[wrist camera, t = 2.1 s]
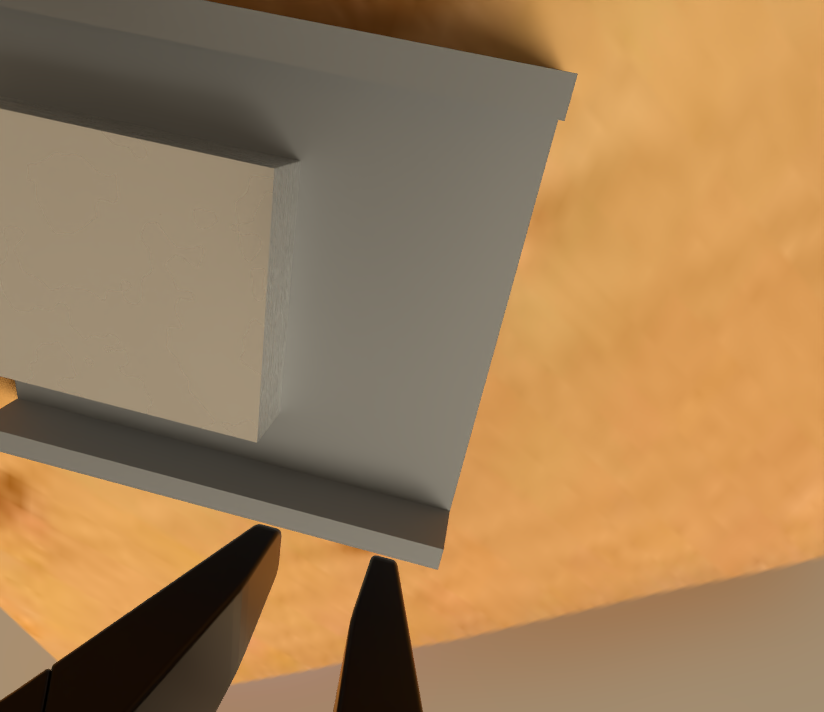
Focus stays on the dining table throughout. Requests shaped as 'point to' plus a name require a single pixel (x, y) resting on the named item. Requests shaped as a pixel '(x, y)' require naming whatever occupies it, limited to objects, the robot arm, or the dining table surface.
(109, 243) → the cover plate
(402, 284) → the slide box
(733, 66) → the dining table surface
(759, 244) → the dining table surface
